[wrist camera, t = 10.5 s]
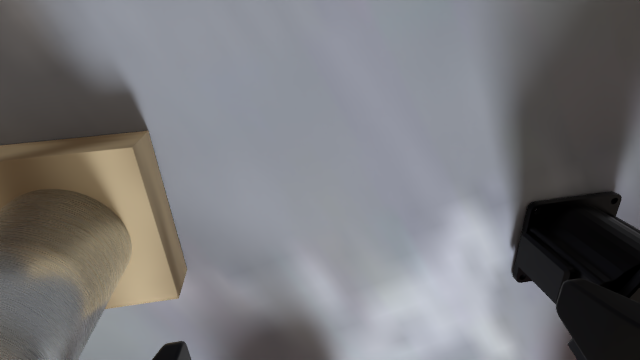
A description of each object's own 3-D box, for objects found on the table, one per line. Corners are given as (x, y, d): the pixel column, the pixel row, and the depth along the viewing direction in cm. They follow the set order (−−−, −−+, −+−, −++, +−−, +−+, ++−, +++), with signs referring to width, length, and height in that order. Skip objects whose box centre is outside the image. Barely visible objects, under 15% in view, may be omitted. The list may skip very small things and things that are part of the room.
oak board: (148, 130, 19) (132, 147, 16) (187, 269, 23) (178, 298, 20) (-43, 149, 18) (-87, 169, 15) (32, 290, 22) (5, 323, 19)
